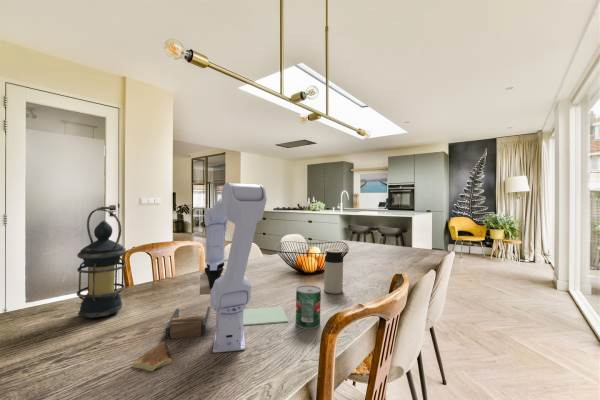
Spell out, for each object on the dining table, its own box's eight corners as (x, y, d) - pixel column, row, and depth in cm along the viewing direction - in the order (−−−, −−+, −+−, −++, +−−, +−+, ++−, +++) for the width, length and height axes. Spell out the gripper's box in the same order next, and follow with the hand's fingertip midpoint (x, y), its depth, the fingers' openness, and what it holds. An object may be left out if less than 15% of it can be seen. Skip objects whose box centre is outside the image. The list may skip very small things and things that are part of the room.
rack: (205, 335, 78) (205, 325, 78) (165, 339, 76) (165, 328, 76) (210, 315, 92) (210, 306, 92) (176, 317, 89) (176, 308, 89)
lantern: (135, 309, 96) (137, 209, 96) (98, 325, 83) (101, 209, 83) (103, 304, 99) (106, 207, 100) (63, 319, 87) (66, 208, 87)
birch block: (225, 293, 87) (226, 274, 87) (199, 294, 86) (200, 275, 86) (227, 290, 91) (227, 271, 91) (202, 290, 90) (202, 272, 90)
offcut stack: (201, 335, 78) (202, 320, 78) (169, 338, 76) (170, 322, 76) (203, 328, 82) (203, 313, 82) (173, 331, 80) (173, 315, 80)
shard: (165, 345, 73) (165, 338, 73) (189, 350, 71) (190, 343, 71) (130, 368, 63) (130, 360, 63) (158, 375, 61) (158, 366, 61)
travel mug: (345, 293, 118) (346, 251, 118) (329, 295, 115) (330, 252, 115) (336, 287, 125) (337, 248, 125) (321, 289, 122) (321, 248, 122)
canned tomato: (292, 320, 90) (292, 286, 90) (314, 316, 92) (314, 284, 92) (300, 330, 82) (301, 294, 82) (324, 327, 85) (325, 291, 85)
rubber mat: (288, 322, 88) (288, 320, 88) (223, 327, 83) (223, 325, 83) (282, 307, 100) (282, 306, 100) (225, 311, 95) (225, 310, 95)
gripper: (227, 248, 83) (226, 294, 82) (228, 242, 97) (227, 280, 97) (203, 249, 81) (201, 295, 81) (207, 242, 95) (206, 281, 95)
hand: (214, 287), depth 89 cm, fingers closed on birch block, 4 cm apart
